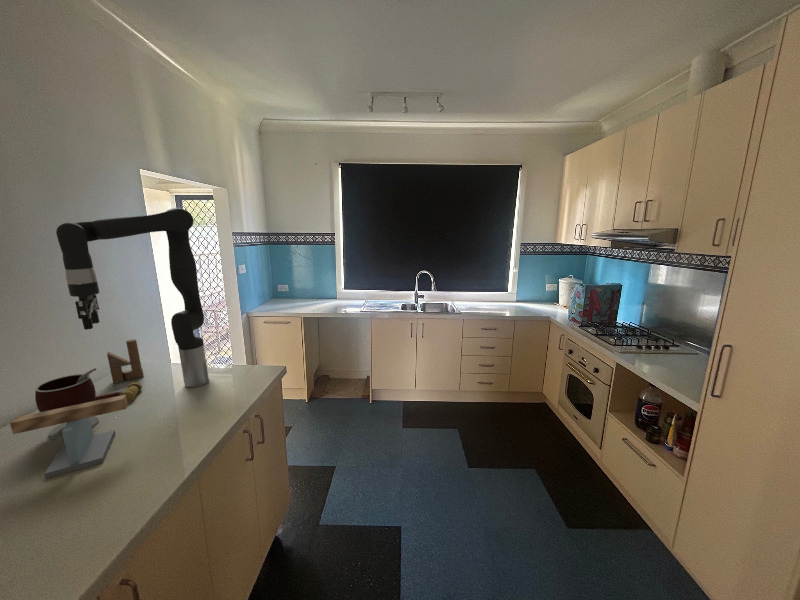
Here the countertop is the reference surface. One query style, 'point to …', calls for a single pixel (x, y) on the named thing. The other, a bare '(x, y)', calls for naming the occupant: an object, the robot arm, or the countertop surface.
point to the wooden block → (117, 362)
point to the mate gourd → (65, 396)
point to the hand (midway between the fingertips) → (92, 326)
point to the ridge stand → (80, 448)
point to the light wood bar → (68, 414)
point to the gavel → (124, 392)
